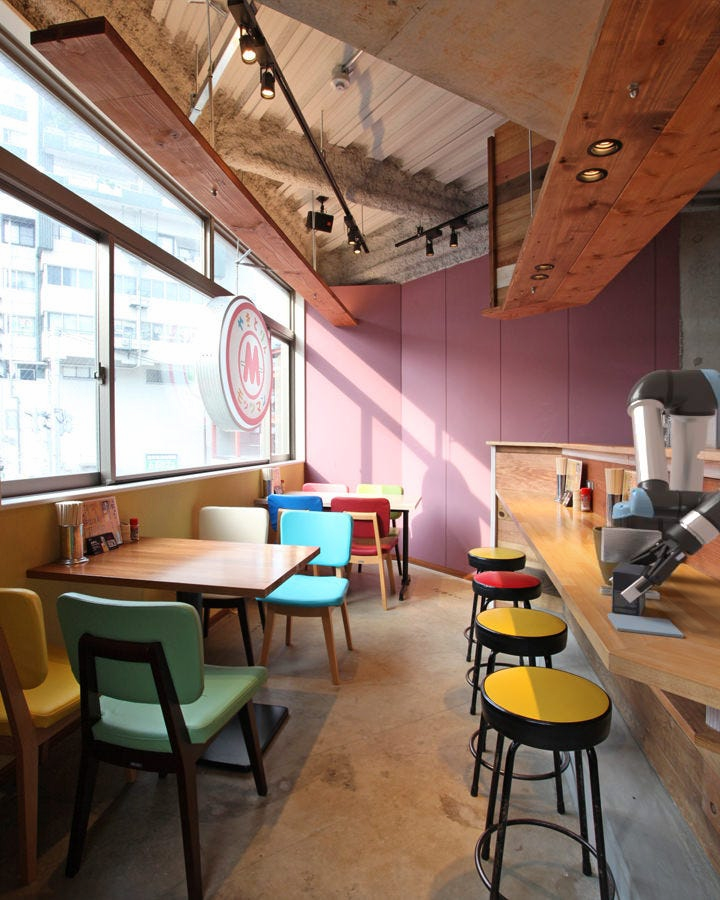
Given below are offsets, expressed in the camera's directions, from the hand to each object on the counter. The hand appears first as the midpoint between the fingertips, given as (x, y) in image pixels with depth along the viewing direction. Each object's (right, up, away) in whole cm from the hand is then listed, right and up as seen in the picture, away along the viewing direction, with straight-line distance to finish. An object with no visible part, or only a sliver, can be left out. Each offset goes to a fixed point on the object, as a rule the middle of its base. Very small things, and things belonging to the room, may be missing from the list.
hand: (618, 590), depth 124 cm
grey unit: (+9, -4, +12) cm, 15 cm away
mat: (-1, -5, -12) cm, 13 cm away
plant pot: (+12, -5, +22) cm, 26 cm away
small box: (+2, -5, 0) cm, 5 cm away
